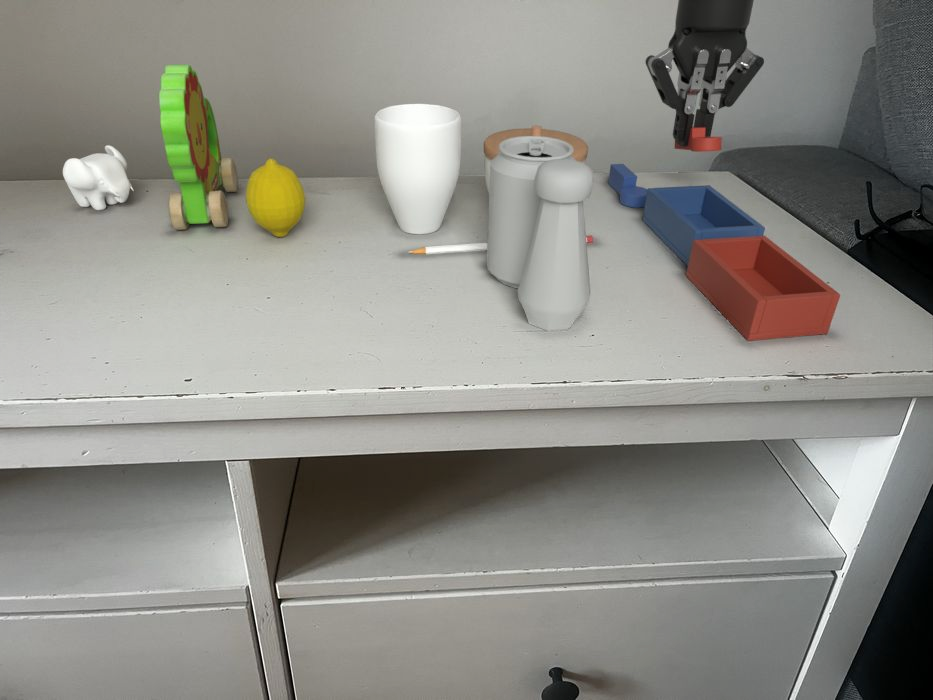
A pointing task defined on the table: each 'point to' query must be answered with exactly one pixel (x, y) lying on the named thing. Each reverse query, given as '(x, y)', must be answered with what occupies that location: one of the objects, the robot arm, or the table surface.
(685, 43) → the robot arm
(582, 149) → the trinket box
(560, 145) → the can
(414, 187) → the mug
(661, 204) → the blue bin
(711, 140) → the red spoon
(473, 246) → the pencil
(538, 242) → the salt shaker
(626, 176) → the blue spoon
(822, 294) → the red bin
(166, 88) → the toy lion
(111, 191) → the elephant figurine
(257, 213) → the fruit
